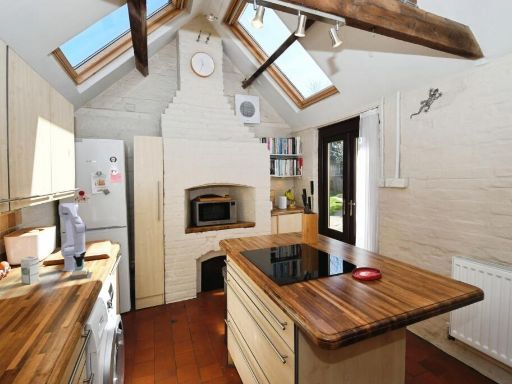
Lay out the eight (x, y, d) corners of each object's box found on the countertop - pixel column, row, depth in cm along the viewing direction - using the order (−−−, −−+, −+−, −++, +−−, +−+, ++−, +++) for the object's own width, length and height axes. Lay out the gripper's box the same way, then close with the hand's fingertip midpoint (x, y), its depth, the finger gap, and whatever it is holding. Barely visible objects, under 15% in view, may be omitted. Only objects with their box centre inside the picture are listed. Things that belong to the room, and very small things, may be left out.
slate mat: (70, 275, 161) (70, 274, 161) (92, 272, 167) (92, 271, 167) (66, 282, 150) (66, 281, 150) (90, 278, 156) (90, 278, 156)
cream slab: (74, 271, 160) (74, 268, 160) (87, 270, 163) (87, 266, 163) (72, 275, 154) (72, 272, 154) (86, 273, 157) (86, 270, 157)
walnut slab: (73, 275, 160) (73, 271, 160) (88, 273, 164) (88, 269, 164) (71, 279, 153) (71, 276, 153) (87, 277, 157) (87, 274, 157)
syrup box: (39, 280, 152) (39, 256, 151) (30, 284, 146) (29, 259, 146) (31, 280, 153) (30, 255, 152) (21, 284, 147) (20, 259, 146)
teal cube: (75, 267, 159) (75, 260, 159) (84, 266, 161) (84, 259, 161) (74, 269, 155) (74, 262, 155) (83, 268, 157) (83, 261, 157)
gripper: (73, 241, 162) (74, 262, 163) (69, 246, 149) (69, 269, 150) (87, 240, 165) (87, 261, 166) (83, 245, 152) (84, 268, 153)
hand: (80, 265), depth 158 cm, fingers closed on teal cube, 4 cm apart
